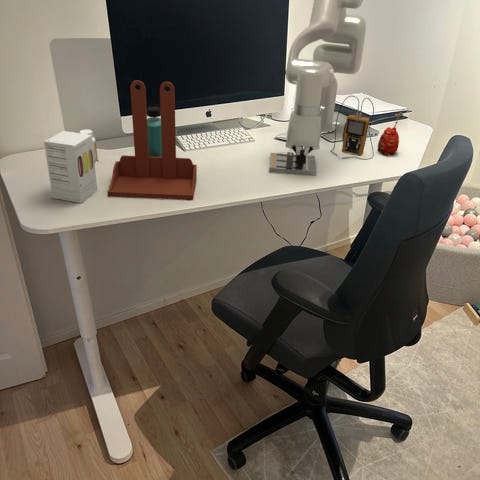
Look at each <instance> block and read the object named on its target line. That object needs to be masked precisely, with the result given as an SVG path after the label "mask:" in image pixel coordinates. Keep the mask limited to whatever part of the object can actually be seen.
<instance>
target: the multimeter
mask: <svg viewBox="0 0 480 480" xmlns="http://www.w3.org/2000/svg"><path fill="white" fill-rule="evenodd" d="M351 97H354V98H355V99H356V100H357V102H360V100H359V98H358V97H357V96H355V95H348V96H347V97H346V98H345V99H344V100H343V102H342V103H341V105H340V108H339V110H338V112H337V116H336V120H335V126H337V123H338V118H339V114H340V111H341V110H342V109H341V108H342V107H343V105H344V103H345V101H346V100H347V99H348V98H351ZM366 99H367V100H368V101H369V102H370V104H371V106H372V116H371V119H370V118H369V117H364V116H362V108H363V104H364V102H365V100H366ZM360 106H361V107H360ZM374 107H375V106H374V104H373V101H372V99H370V98H369V97H364V99H363V100H362V102H361V105H360V104H358V106H357V110H356V114H355V115H354V114H348V115H347V117H346V120H345V123H344V127H343V132H342V147H341V152H342V153H344V154H345V153H346V154H351V155H352V158H356V159H359V160H367V161H368V160H371V159H373V158H374V148H373V143H372V137H371V134H370V132H369V130H371V125H372V122H373V121H372V120H373V117H374V114H375V108H374ZM359 109H360V111H359ZM370 120H371V121H370ZM336 134H337V127H336V128H335V131H334V140H336V139H337V138H336V136H337V135H336ZM367 135H369V139H370V140H369V141H370V143H371V148H372V149H371V150H372V157H370V158H361V157H360V156H362V155H363V154H364V151H365V147H366V141H367ZM333 142H334V145H333V148H332V149H331V150H330V152H331V153H332V154H333V155H334V156H336V157H339V158H337V159H338V160H339V159H341V160H345V159H350V158H351V156H343V157H340V155H338V154H337V153H335V152H333V151H334V150H335V146H336V141H333ZM353 155H355V156H353Z"/></svg>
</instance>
